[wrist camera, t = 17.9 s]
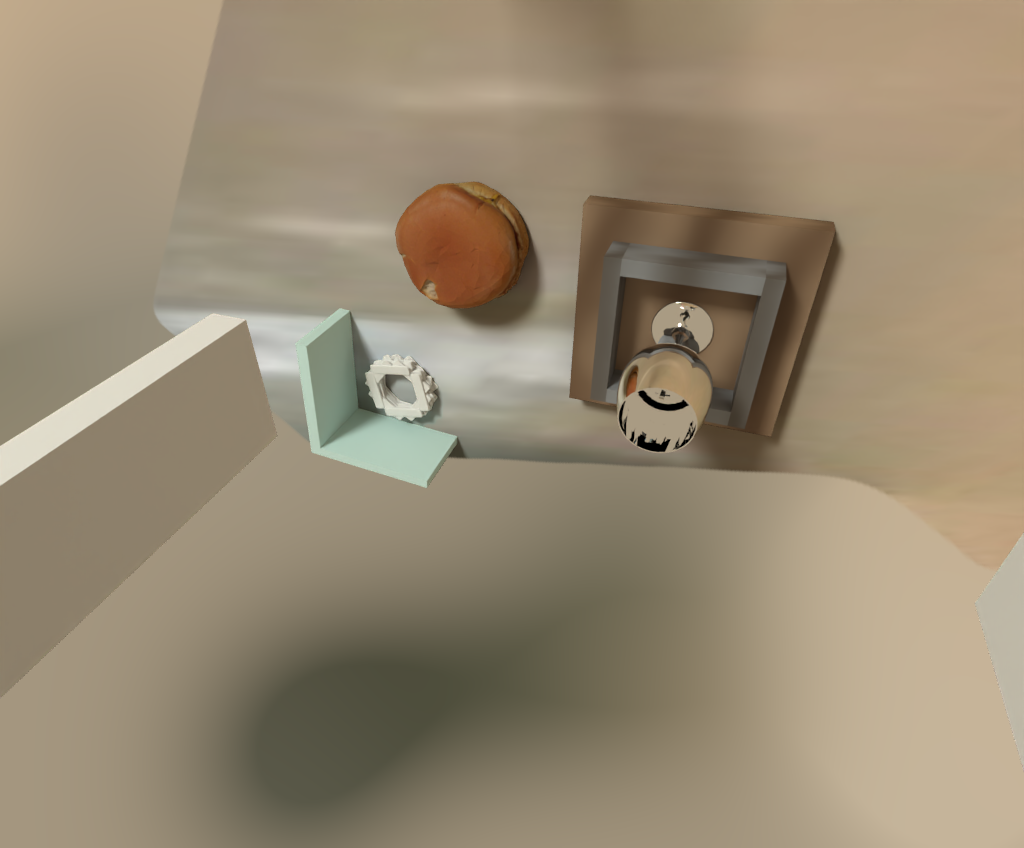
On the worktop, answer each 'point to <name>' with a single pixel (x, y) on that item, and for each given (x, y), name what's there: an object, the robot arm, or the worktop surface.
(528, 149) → the worktop surface
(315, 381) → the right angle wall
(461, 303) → the burger
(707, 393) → the wineglass
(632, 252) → the socket base
